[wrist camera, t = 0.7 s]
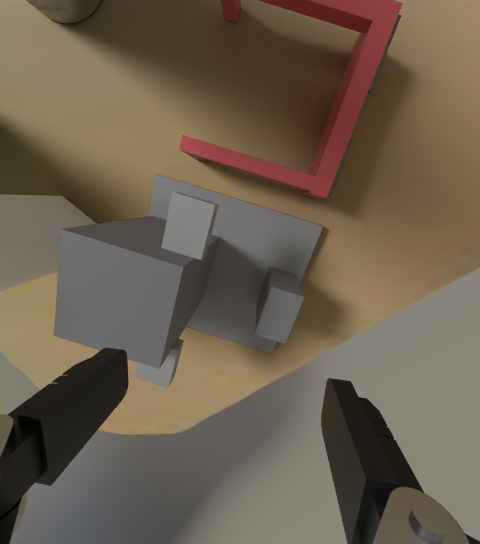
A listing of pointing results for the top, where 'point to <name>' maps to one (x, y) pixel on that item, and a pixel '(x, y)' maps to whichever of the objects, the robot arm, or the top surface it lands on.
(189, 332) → the top surface
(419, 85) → the top surface
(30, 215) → the milk
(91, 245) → the stand
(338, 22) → the red c-shaped frame
